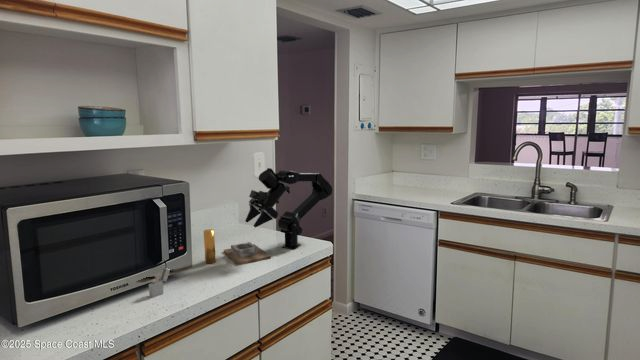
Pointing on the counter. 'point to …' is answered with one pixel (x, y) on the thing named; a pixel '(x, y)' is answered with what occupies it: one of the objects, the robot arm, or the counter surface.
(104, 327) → the counter surface
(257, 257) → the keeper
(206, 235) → the post
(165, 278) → the lighter
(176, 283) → the counter surface
